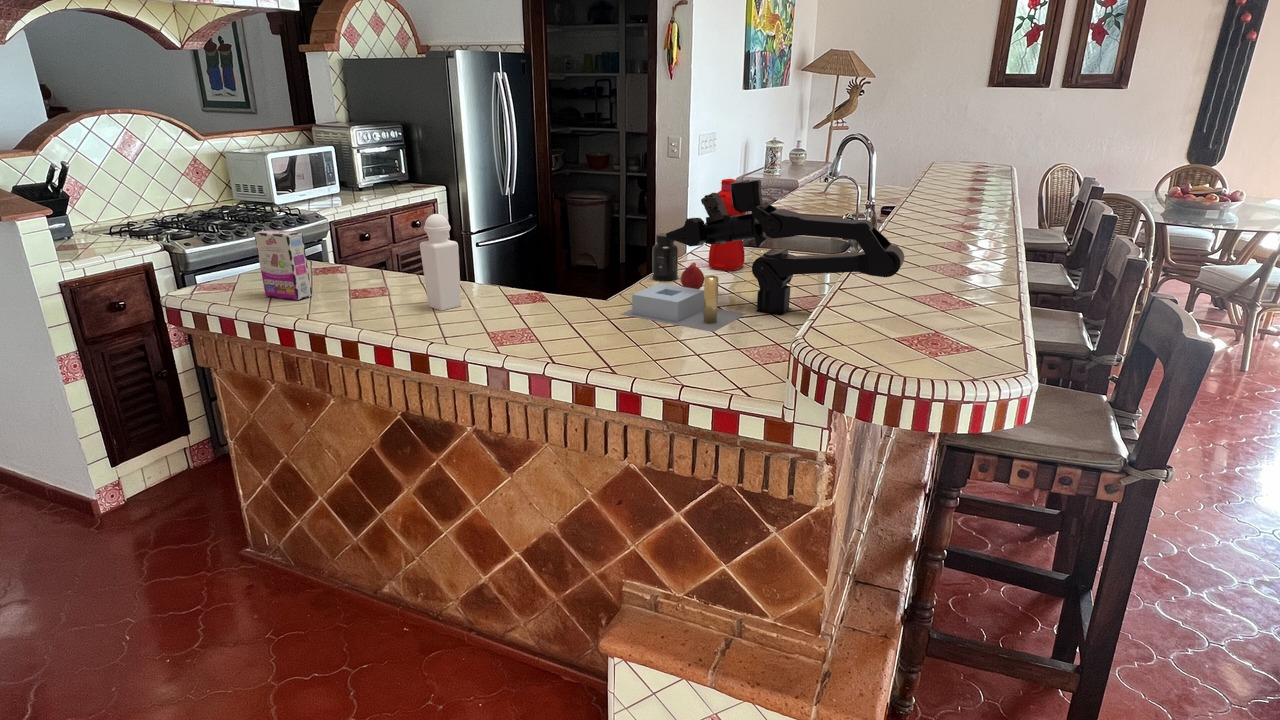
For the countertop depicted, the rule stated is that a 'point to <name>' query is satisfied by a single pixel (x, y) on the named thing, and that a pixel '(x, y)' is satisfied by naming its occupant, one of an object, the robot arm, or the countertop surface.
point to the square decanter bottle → (440, 264)
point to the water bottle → (729, 252)
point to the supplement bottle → (665, 259)
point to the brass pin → (710, 299)
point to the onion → (692, 277)
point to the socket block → (668, 302)
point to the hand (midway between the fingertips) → (674, 235)
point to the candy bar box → (283, 264)
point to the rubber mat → (697, 319)
